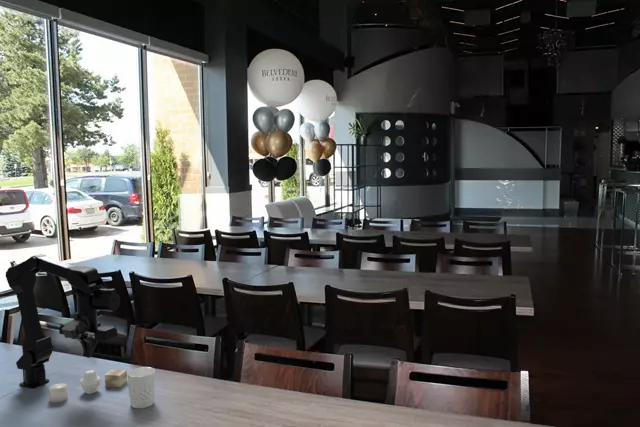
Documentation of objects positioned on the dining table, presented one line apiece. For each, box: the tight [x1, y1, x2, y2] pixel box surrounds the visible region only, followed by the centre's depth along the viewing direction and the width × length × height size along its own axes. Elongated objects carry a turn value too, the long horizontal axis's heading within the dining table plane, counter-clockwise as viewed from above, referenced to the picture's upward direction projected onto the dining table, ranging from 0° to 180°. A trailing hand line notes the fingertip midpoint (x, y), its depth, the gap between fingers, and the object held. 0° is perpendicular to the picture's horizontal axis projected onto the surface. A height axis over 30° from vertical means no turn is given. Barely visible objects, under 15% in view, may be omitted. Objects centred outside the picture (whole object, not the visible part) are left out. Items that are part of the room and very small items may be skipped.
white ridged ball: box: [79, 369, 102, 395], centre depth 179 cm, size 6×6×7 cm
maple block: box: [104, 368, 128, 388], centre depth 185 cm, size 5×5×4 cm
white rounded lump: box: [48, 382, 69, 404], centre depth 174 cm, size 5×5×4 cm
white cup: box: [127, 366, 156, 409], centre depth 170 cm, size 8×8×10 cm
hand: (89, 357), depth 178 cm, fingers closed
